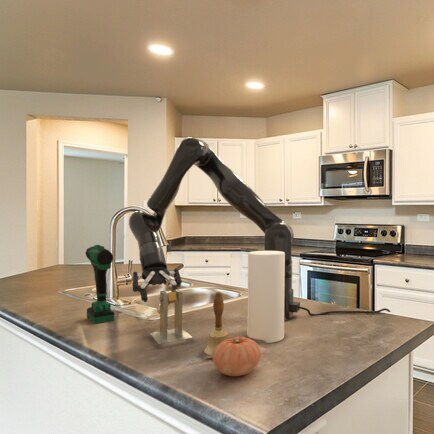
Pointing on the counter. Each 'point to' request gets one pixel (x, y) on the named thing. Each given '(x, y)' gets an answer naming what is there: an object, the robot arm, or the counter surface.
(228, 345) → the pumpkin
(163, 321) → the bracket
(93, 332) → the counter surface
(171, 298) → the lever
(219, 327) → the hand bell
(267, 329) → the tall pillar cylinder
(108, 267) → the power drill
